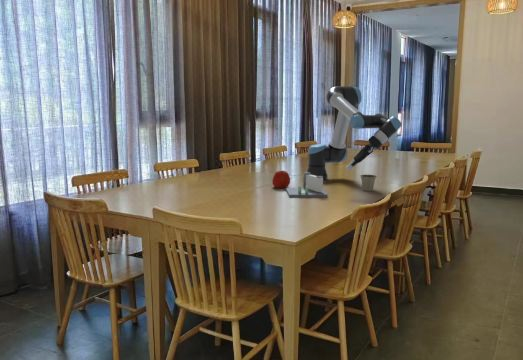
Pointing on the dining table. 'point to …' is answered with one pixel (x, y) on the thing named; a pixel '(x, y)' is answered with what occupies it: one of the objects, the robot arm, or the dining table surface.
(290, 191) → the dial plate
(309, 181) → the white slab
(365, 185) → the flower pot
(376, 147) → the robot arm
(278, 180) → the apple
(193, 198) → the dining table surface
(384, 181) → the dining table surface
